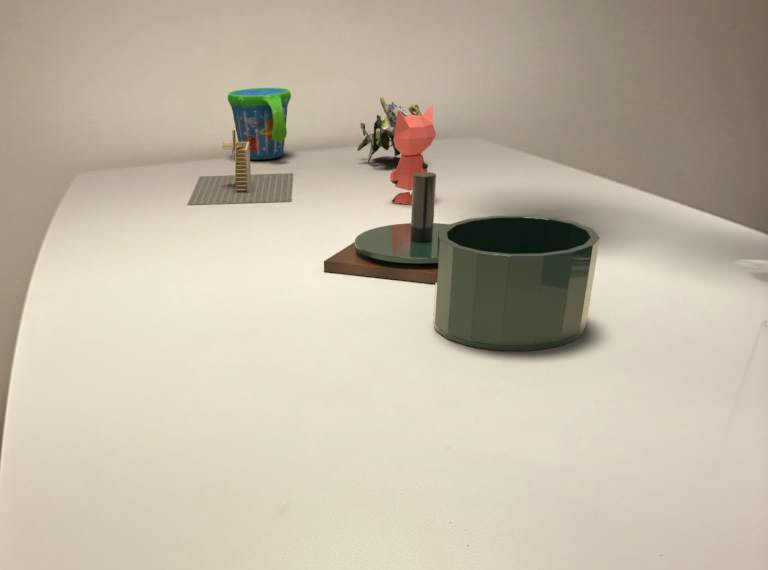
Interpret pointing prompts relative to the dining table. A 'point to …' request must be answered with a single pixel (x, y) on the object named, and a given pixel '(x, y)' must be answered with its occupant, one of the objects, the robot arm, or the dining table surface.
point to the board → (378, 267)
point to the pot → (514, 281)
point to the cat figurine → (411, 150)
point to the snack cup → (261, 120)
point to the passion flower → (385, 128)
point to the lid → (407, 230)
